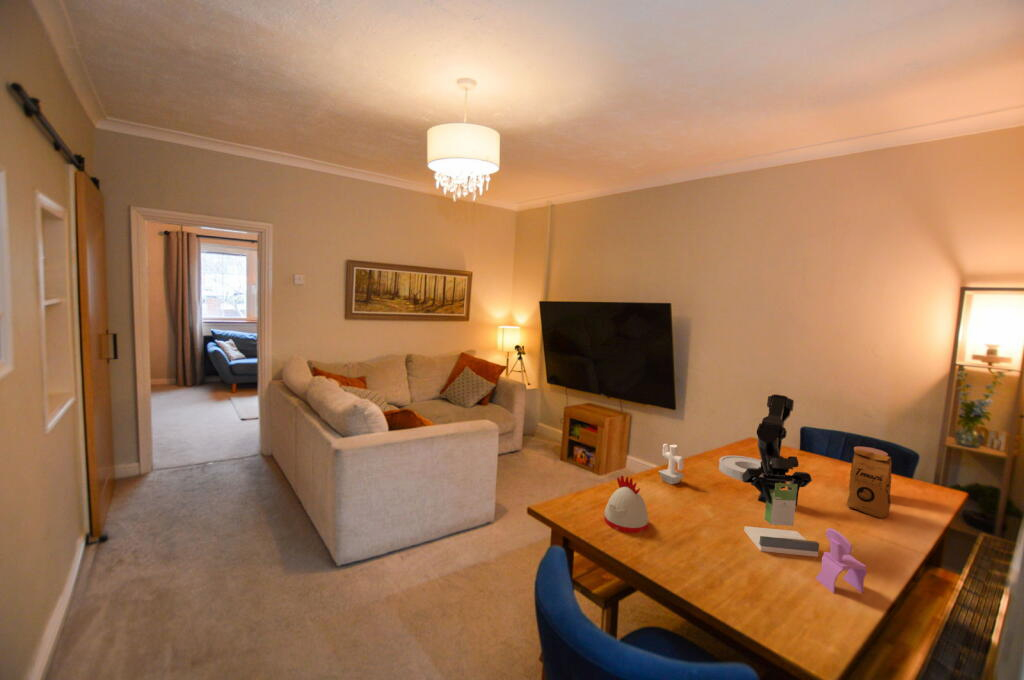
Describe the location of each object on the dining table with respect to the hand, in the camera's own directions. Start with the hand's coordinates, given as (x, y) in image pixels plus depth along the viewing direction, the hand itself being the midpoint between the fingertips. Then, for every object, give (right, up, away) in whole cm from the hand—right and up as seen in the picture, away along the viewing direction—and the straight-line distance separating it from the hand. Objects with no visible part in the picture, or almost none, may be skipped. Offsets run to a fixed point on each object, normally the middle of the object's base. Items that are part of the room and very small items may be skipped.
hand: (783, 504), depth 140 cm
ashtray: (+20, -8, +60) cm, 63 cm away
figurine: (-19, -7, +45) cm, 50 cm away
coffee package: (+47, -12, +27) cm, 55 cm away
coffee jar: (+58, -12, +42) cm, 73 cm away
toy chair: (+3, -15, -19) cm, 25 cm away
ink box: (0, -7, +2) cm, 7 cm away
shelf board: (-1, -12, +1) cm, 12 cm away
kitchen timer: (-46, -9, +9) cm, 48 cm away
